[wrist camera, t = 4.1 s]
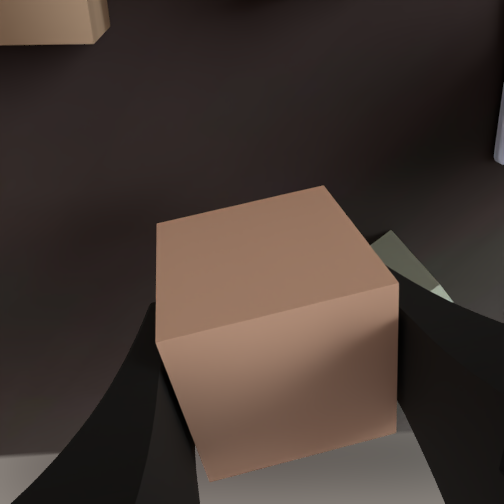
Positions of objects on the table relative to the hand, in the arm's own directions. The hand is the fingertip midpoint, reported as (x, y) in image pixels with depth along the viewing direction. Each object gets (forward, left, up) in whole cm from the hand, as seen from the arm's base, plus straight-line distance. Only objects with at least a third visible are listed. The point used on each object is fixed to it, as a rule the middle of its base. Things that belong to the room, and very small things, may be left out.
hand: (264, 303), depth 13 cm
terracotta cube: (0, 0, -2) cm, 2 cm away
